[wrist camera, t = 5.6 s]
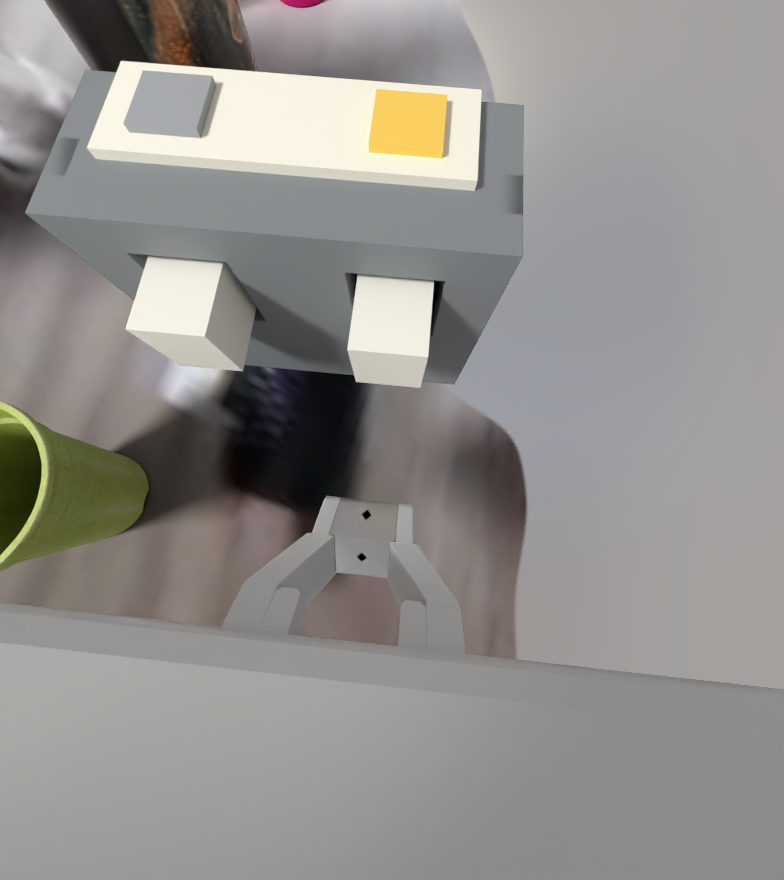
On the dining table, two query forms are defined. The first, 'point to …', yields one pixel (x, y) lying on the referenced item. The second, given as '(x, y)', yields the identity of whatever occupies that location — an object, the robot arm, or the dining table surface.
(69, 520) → the plant pot
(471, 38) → the dining table surface
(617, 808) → the robot arm
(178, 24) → the jar
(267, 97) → the console
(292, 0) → the pepper mill
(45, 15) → the dining table surface
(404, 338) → the button
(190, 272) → the button
